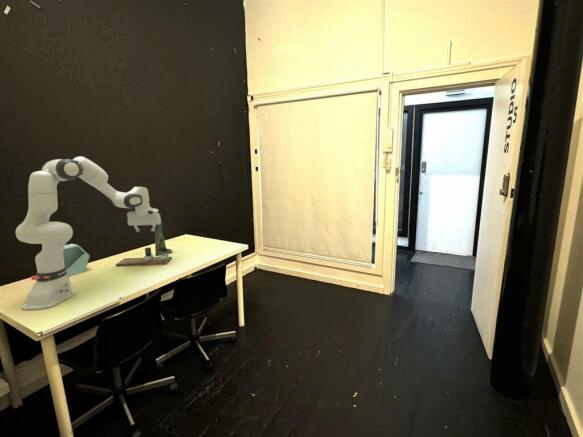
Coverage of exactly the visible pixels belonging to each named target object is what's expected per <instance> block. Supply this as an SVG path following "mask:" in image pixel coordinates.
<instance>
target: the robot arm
mask: <svg viewBox="0 0 583 437" xmlns="http://www.w3.org/2000/svg"><path fill="white" fill-rule="evenodd" d="M108 175H109V174H107V172H106V171H105V170H104V169H103V168H102V167H100V166H99V165H98V164H96V163H95V162H93V161H92V160H90V159H88V158H86V157H85V156H76V157H74V158H73V159H70V158H64V159H63V158H62V159H61V158H58V159H57V158H56V159H51V160H48V161H45V163H43V165H42V166H41V169H40V170H37V171H33V172H32V173H31V174H30V176H29V181H28V185H27V186H28V187H27V188H28V190H27V193H28V210H27V214H26V216H25V218H24V220H23V221H22V222H21V223H20V224H19V225H18V226H17V227H16V229H15V236H16V238H17V240H19V242H22V243H26V244H30V245H31V244H34V245H35V244H37V245H38V244H41V247H42V248H41V251H40V252H39V253H37V254H36V256H35V258H34V261H35V265H36V270H37V271H36V274H35V275H32V276H31V278H30V279H31V280H32V281H35V283H34V284H33V285H32V287H31V289H30V290H29V291H28V293H27V296H26V299H27V302H26V303H24V304H23V305H22V306H21V309H22V310H26V311H27V310H28V311H32V310H33V311H34V310H43V309H49V308H52V307H54V306H57V305H58V304H60V303H63V302H64V301H65V300H68V299H69V298H71V297H73V296H75V295H76V294H77V292H76V291H74V288H73V285H72V282H71V279H70V277H69V276H67V269H66V267H65V264H64V257H63V250H64V246H65V245H67V243H68V242H70V241H71V239H72V237H73V234H74V232H73V228H72V226H71V225H70V224H68V223H66V222H61V221H50V217H51V215H53V214H54V213H55V212H57V210H58V208H59V207H58V205H59V202H58V189H57V188H58V184H59V183H60V182H65V181H72V180H75V179H77V178H80V179H81V180H82V181H84V182H85V183H87V184H88V185H90V186H92V187H94V188H95V189H96V190H97V191H99V192H101V193H102V194H103V195H104V196H105V197H106V198H108V200H109V201H110V203H111V204H112V205H113V207H116V208H118V209H119V208H123V209H134V208H135V209H134V211H133V210H132V211H128V212H127V213H126V216H127V225H128V226H129V227H130V226H133V227H134V229H135V230H136V233H140V232H141V229H140V228H138V226H152V227H151V229H150V232H155V226H156V225H159V224H160V223H161V222H162V219H161V216H160V215H159V214H160V213H159V209H158V208H154V207H151V204H150V195H149V190H148V188H147V187H146V186H138V185H137V186H133V187H132V189H131V190H129V191H127V192H123V191H118V190H116V189H115V188H114V187H112V186H111V185H110V184H109V183H108V180H109V176H108Z"/></svg>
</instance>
